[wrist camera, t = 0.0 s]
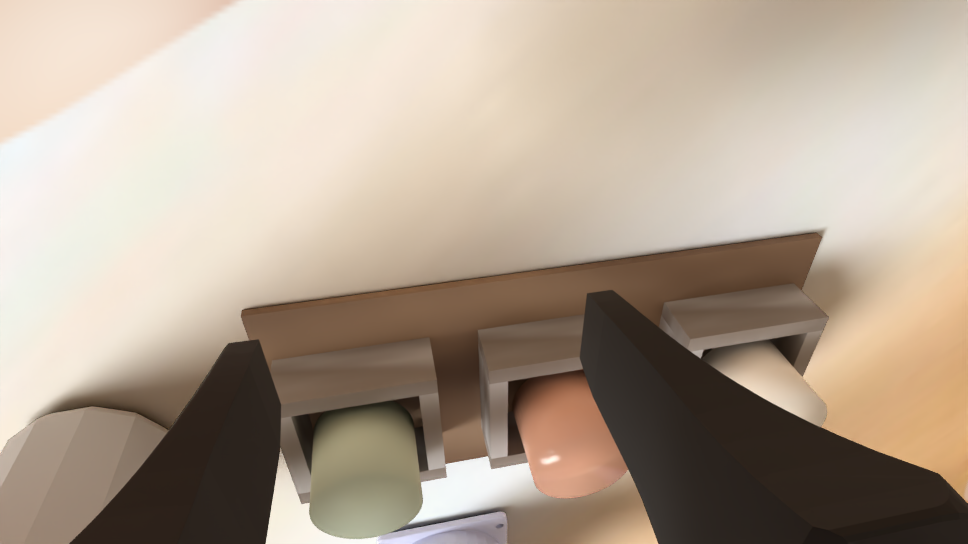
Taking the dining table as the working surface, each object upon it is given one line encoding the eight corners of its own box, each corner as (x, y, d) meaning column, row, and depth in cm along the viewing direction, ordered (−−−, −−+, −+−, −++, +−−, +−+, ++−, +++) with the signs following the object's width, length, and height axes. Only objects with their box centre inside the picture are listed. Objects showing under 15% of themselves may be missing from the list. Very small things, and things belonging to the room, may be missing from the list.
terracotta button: (597, 420, 29) (627, 487, 26) (511, 436, 28) (531, 506, 25) (607, 357, 26) (641, 424, 23) (512, 372, 25) (535, 443, 22)
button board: (751, 402, 34) (781, 443, 32) (303, 482, 30) (300, 536, 28) (816, 232, 27) (861, 269, 25) (242, 310, 23) (230, 362, 21)
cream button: (761, 391, 30) (808, 452, 27) (683, 405, 29) (722, 469, 26) (786, 328, 27) (841, 388, 24) (701, 342, 27) (746, 405, 24)
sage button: (417, 452, 27) (426, 526, 24) (323, 469, 27) (321, 547, 24) (408, 389, 25) (417, 464, 22) (304, 406, 24) (298, 485, 21)
